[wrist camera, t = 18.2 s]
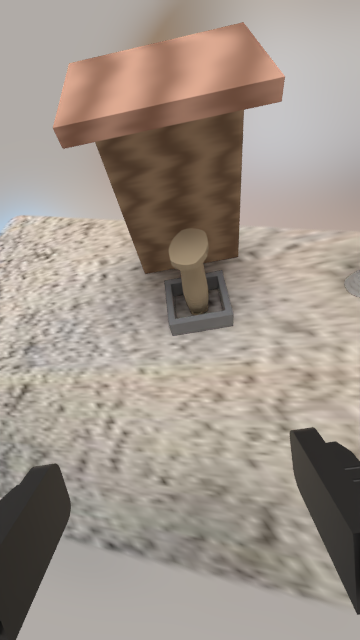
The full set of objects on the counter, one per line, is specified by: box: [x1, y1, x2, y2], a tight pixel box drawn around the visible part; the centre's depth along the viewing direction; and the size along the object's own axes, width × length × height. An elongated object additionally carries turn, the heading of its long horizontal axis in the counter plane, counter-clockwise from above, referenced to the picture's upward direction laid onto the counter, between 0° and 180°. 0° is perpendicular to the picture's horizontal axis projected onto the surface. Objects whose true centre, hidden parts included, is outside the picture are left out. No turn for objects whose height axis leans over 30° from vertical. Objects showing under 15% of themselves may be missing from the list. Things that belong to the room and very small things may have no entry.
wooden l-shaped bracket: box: [53, 22, 285, 274], centre depth 39 cm, size 18×14×32 cm
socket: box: [164, 270, 233, 336], centre depth 48 cm, size 10×9×4 cm
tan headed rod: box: [169, 228, 209, 315], centre depth 43 cm, size 5×6×15 cm
